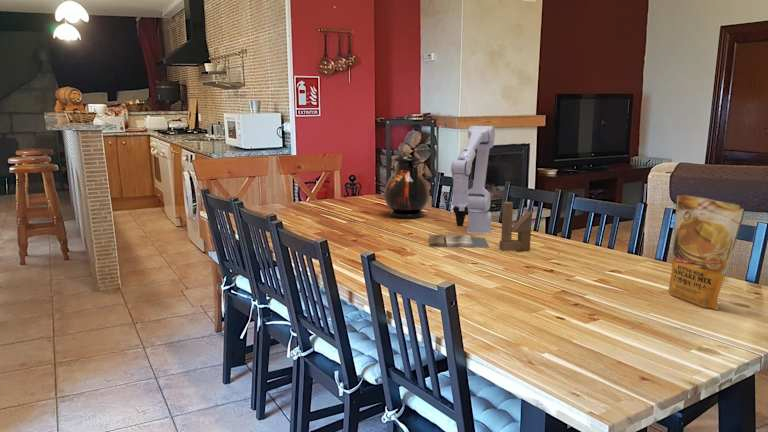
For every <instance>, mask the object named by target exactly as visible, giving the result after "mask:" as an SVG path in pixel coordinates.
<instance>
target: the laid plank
mask: <svg viewBox="0 0 768 432" xmlns="http://www.w3.org/2000/svg"><path fill="white" fill-rule="evenodd" d="M428 239H429V240H428V241H429V247H430V246H446V242H445V236H444V235H443V234H429V236H428Z"/></svg>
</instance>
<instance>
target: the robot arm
mask: <svg viewBox="0 0 768 432" xmlns="http://www.w3.org/2000/svg"><path fill="white" fill-rule="evenodd" d="M495 137H496V130H495V127H494V126H493V125H470V126H469V127H468V131H467V138H468V141H467V144H466V146H465V147H463V148H462V149H461V150H460V152H459V154H458V156H457V159H455V160H452V162H451V165H450V166H451V167H450V172H451V179H452V180H453V182H452V183H453V184H452V201H450V202H449V205H452V206H453V207H452V210H453V212H454V215H455V220H456V221H455V222H456V226H457V227H463V226H464V224H465V223H464V222H465V219H466V215H467V213H468V216H467V219H468V220H467V228H466V233H468V234H491V231H492V213H491V211H489V210H490V209H491V208H490V207H491V193H490V191H488V190H487V189H486V188H485V187H486V178H487V171H488V164H489V163H488V162H489V155H490V149H492V148H493V147H494V144H495ZM475 158H476V159H475ZM474 159H475V166H474V167H475V168H474V176H473V184H472V187H470V188H469V176H470V174H471V172H472V166H473V164H472V163H473V162H474ZM454 206H455V207H454Z"/></svg>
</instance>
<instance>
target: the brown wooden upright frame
mask: <svg viewBox="0 0 768 432" xmlns="http://www.w3.org/2000/svg"><path fill="white" fill-rule="evenodd" d="M513 207H514V203H513V202H512V201H502V215H501V216H502V217H501V218H502V219H501V240H499V245H498V246H499V247H498V248H499V250H501V251H502V252H507V251H516V252H525V251H526V252H527V251H528V252H529V251H531V237H532V234H531V232H532V219H533V217H532V216H533V213H532V212H531V211H526V212H525V213H523V214H522V216H521V217H520V218H519V219H518V220H517V221H516V223H514V224H513V209H514V208H513ZM512 233H517V239H512Z"/></svg>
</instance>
